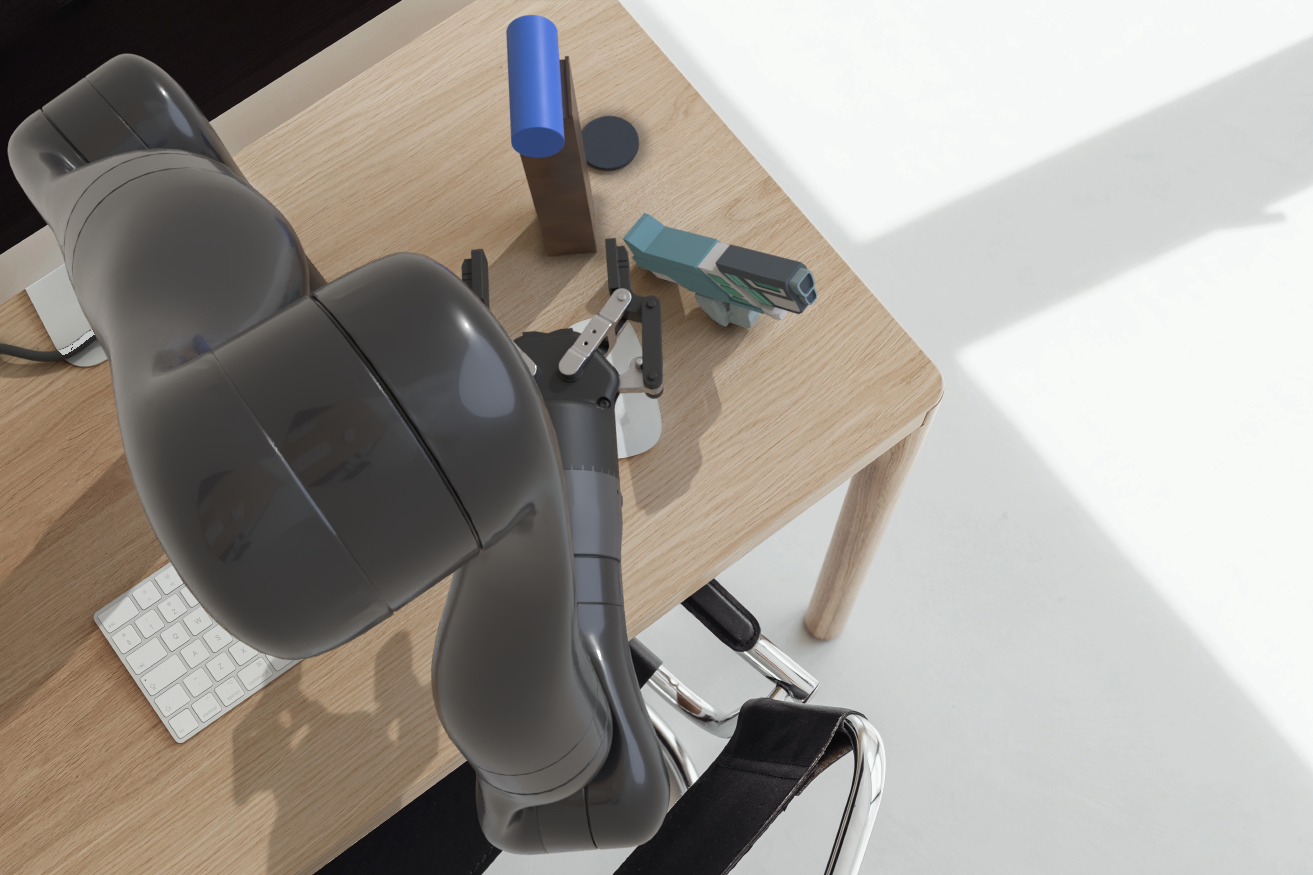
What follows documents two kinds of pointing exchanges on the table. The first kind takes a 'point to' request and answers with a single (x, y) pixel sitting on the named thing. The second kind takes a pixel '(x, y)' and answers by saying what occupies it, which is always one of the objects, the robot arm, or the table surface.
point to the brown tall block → (564, 184)
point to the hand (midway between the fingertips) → (545, 249)
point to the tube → (534, 87)
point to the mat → (610, 142)
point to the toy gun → (722, 273)
